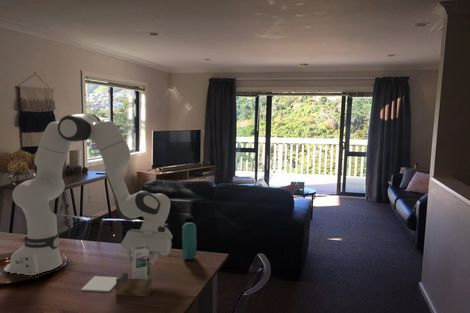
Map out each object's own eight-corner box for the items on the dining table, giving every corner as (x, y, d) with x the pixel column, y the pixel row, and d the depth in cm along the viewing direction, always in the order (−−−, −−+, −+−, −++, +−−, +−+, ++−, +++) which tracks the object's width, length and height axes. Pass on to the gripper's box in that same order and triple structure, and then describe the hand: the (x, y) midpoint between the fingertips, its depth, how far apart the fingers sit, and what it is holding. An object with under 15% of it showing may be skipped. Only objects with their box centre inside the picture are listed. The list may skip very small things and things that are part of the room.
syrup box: (135, 287, 140) (134, 251, 138) (132, 281, 145) (131, 245, 143) (150, 284, 142) (149, 248, 141) (146, 278, 148) (145, 243, 146)
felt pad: (81, 290, 137) (81, 289, 137) (94, 277, 148) (94, 276, 148) (109, 292, 136) (109, 290, 136) (121, 278, 147) (121, 277, 147)
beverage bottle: (194, 262, 163) (194, 219, 161) (180, 261, 165) (179, 218, 162) (198, 257, 170) (198, 215, 167) (184, 255, 171) (184, 214, 169)
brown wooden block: (115, 294, 134) (115, 279, 134) (121, 288, 139) (120, 273, 138) (147, 296, 133) (147, 280, 133) (152, 289, 138) (151, 274, 137)
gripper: (125, 224, 151) (112, 256, 142) (171, 229, 145) (160, 262, 137) (131, 232, 155) (119, 263, 147) (176, 236, 150) (166, 269, 142)
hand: (139, 263), depth 142 cm, fingers closed on syrup box, 8 cm apart
